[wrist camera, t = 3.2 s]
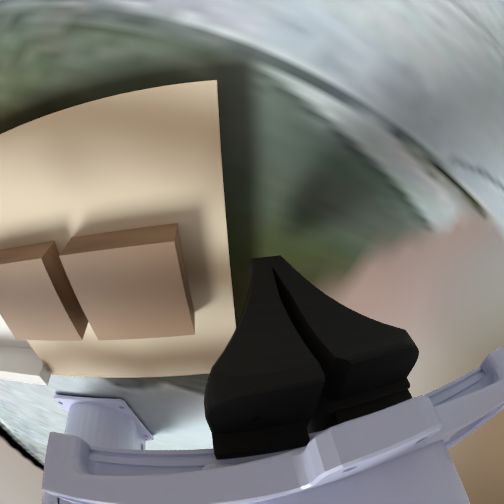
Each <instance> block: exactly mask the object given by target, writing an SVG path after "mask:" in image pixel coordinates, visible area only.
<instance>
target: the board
mask: <svg viewBox="0 0 504 504" xmlns="http://www.w3.org/2000/svg"><path fill="white" fill-rule="evenodd" d="M174 223H177V224H178V230H179V236H180V242H181V247H182V253H183V258H184V264H185V269H186V274H187V279H188V284H189V289H190V293H191V298H192V303H193V307H194V312H195V335H185V336H173V337H160V338H144V339H125V340H98V338H97V336H96V335H95V333H94V331H93V329H92V327H91V325H90V323H89V322H88V325H87V328H86V331H85V334H84V337H83V340H82V341H45V340H27V341H28V343H29V344H30V346H31V347H32V349H33V350H34V351H35V353H36V354H37V356H38V357H39V358H40V360H41V361H42V362H43V364H44V365H45V366H46V367H47V369H48V370H49V371H50V373H51V374H52V375H58V376H73V377H99V378H139V377H166V376H183V375H196V374H208V373H210V372H211V368H212V367H213V365H214V364H215V362H216V361H217V360H218V358H219V357H220V355H221V354H222V353H223V351H224V350H225V348H226V346H227V344H228V343H229V341H230V339H231V337H232V336H233V334H234V332H235V329H236V323H235V313H234V303H233V292H232V282H231V271H230V260H229V249H228V237H227V225H226V213H225V200H224V187H223V173H222V159H221V144H220V128H219V111H218V93H217V80H210V81H199V82H190V83H182V84H174V85H167V86H161V87H154V88H149V89H143V90H138V91H133V92H128V93H123V94H119V95H114V96H110V97H106V98H102V99H98V100H94V101H91V102H87V103H83V104H80V105H77V106H73V107H70V108H67V109H64V110H61V111H58V112H55V113H52V114H49V115H46V116H43V117H41V118H38V119H35V120H33V121H30V122H28V123H25V124H23V125H20V126H18V127H16V128H13V129H11V130H9V131H6V132H4V133H2V134H0V250H3V249H8V248H14V247H19V246H25V245H30V244H36V243H42V242H48V241H55V243H56V246H57V249H58V252H59V254H61V252H62V251H63V249H64V248H65V246H66V245H67V243H68V242H69V240H70V239H71V238H72V237H79V236H85V235H92V234H98V233H105V232H112V231H119V230H127V229H134V228H142V227H149V226H157V225H165V224H174Z"/></svg>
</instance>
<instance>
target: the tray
mask: <svg viewBox="0 0 504 504" xmlns="http://www.w3.org/2000/svg"><path fill="white" fill-rule="evenodd" d="M50 375H51V373H50V371H49V370H48V369H47V367H46V366H45V365H44V364H43V362H42V361H41V360H40V358H39V357H38V356H37V354H36V353H35V351H34V350H33V349H32V347H31V346H30V344H29V343H28V341H27V340H17V339H16V338H15V337H14V335H13V334H12V332H11V331H10V329H9V328H8V326H7V324H6V323H5V321H4V320H3V318H2V316H1V315H0V379H5V380H11V381H17V382H24V383H31V384H39V385H48V382H49V379H50Z"/></svg>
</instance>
